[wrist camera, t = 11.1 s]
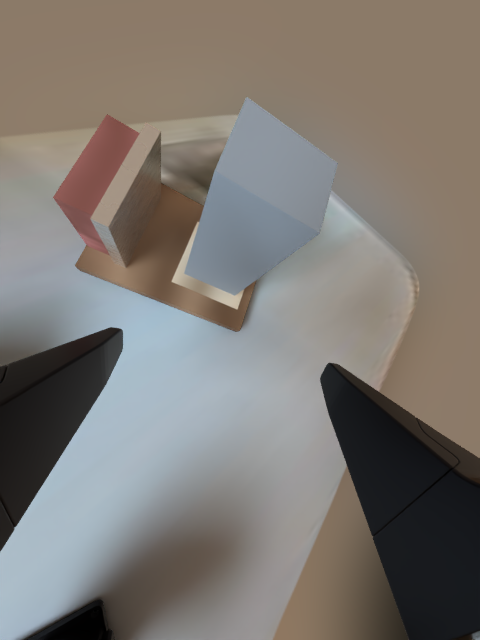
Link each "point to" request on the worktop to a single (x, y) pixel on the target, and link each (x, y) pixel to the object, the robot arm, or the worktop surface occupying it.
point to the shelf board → (140, 224)
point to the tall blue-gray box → (259, 202)
